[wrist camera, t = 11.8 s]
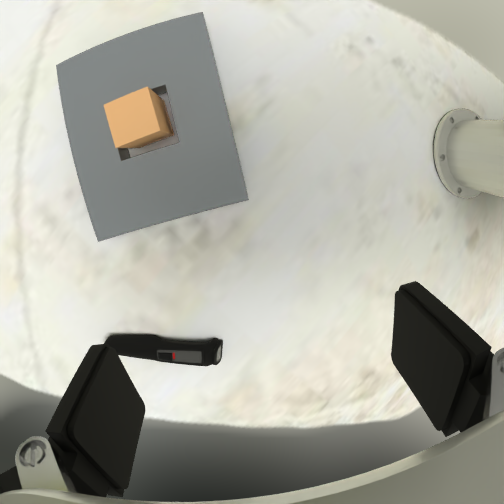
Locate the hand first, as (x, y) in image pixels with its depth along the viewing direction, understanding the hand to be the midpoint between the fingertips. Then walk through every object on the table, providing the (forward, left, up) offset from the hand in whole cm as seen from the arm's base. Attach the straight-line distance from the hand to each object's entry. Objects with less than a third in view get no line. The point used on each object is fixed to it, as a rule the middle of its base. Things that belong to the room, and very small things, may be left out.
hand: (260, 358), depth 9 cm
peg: (+6, -11, -25) cm, 28 cm away
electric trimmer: (+13, +15, -26) cm, 32 cm away
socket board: (+6, -11, -25) cm, 28 cm away
